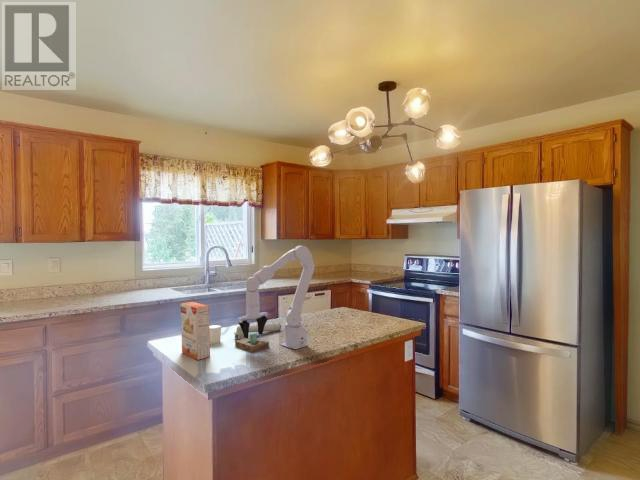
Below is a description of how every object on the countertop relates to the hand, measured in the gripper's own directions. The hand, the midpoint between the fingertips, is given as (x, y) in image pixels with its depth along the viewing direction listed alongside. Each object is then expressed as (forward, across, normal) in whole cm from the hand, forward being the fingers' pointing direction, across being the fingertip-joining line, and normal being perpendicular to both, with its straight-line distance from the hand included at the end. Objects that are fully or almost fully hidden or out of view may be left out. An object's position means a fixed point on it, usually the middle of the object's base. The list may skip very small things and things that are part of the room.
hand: (253, 336), depth 160 cm
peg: (+5, 0, 0) cm, 5 cm away
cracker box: (+5, +22, -10) cm, 25 cm away
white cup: (+5, +7, -21) cm, 23 cm away
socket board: (+5, 0, -1) cm, 5 cm away
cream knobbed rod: (+5, -14, -15) cm, 21 cm away
